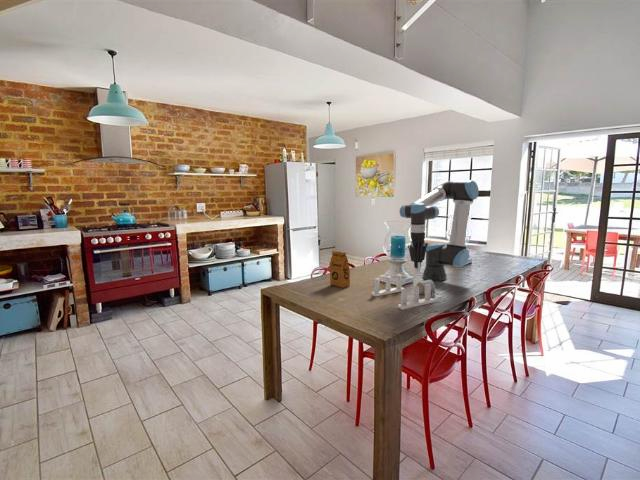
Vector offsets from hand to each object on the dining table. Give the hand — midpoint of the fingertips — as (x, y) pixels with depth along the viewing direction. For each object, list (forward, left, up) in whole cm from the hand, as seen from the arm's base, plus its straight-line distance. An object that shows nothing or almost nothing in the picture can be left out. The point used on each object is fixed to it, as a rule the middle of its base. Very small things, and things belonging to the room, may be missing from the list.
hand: (417, 273), depth 183 cm
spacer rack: (+12, 0, -13) cm, 17 cm away
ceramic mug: (-6, +2, -13) cm, 14 cm away
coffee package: (+29, -38, -13) cm, 49 cm away
